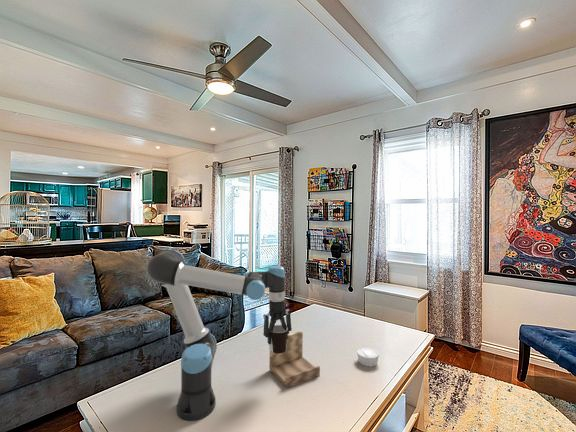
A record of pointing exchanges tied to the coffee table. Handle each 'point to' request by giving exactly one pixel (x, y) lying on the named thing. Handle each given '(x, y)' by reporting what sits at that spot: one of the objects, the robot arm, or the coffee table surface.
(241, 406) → the coffee table surface
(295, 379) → the light brown blocky piece
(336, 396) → the coffee table surface
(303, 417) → the coffee table surface
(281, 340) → the coffee mug
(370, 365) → the ramekin
